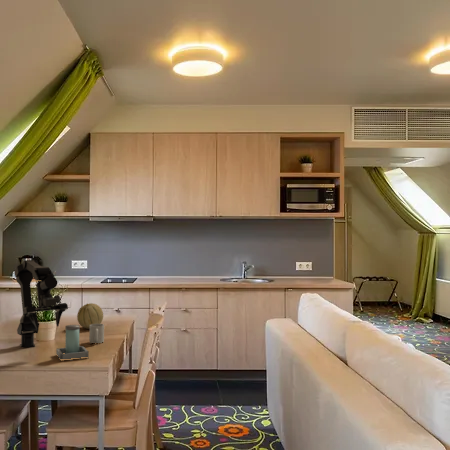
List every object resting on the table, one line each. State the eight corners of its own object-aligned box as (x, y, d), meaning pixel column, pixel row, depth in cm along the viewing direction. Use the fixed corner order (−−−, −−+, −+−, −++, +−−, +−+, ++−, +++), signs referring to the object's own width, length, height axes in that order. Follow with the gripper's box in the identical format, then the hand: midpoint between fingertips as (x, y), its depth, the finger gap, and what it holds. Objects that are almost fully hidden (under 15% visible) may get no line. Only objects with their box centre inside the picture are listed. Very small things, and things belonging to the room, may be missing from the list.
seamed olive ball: (106, 326, 290) (107, 301, 290) (97, 331, 275) (98, 305, 275) (82, 325, 291) (83, 300, 291) (72, 330, 277) (73, 304, 277)
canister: (63, 356, 222) (64, 325, 222) (77, 354, 224) (78, 324, 225) (66, 359, 216) (66, 327, 216) (80, 357, 219) (80, 326, 219)
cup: (104, 340, 253) (104, 323, 253) (103, 345, 243) (103, 327, 243) (89, 341, 251) (90, 323, 251) (88, 345, 242) (88, 327, 242)
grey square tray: (56, 355, 223) (56, 348, 223) (82, 352, 228) (83, 345, 228) (60, 361, 212) (60, 354, 212) (88, 358, 218) (88, 351, 218)
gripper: (28, 291, 211) (32, 327, 207) (70, 288, 223) (74, 322, 219) (20, 296, 219) (24, 331, 215) (61, 293, 231) (65, 326, 227)
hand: (47, 327), depth 219 cm, fingers open, 9 cm apart
